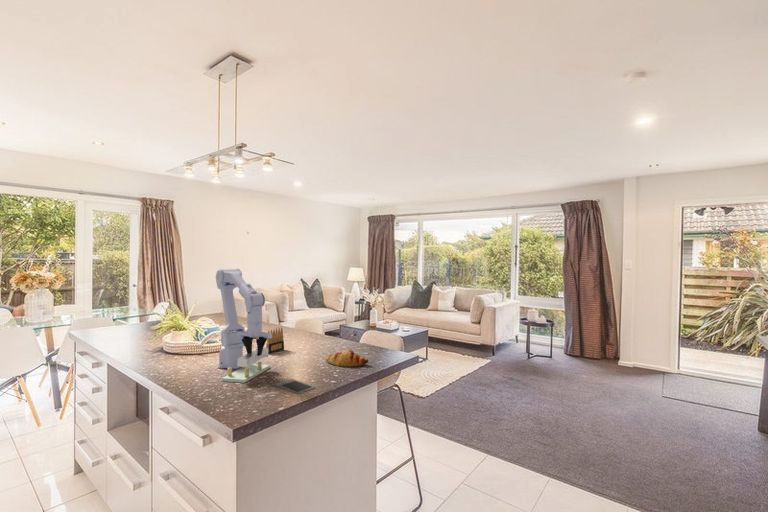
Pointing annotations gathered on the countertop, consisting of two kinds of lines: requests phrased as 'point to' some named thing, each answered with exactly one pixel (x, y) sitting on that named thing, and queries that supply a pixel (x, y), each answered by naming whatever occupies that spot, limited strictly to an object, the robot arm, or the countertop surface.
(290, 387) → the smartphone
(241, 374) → the rack
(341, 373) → the countertop surface
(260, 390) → the countertop surface
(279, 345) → the ammunition clip
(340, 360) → the croissant
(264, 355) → the grey bar
